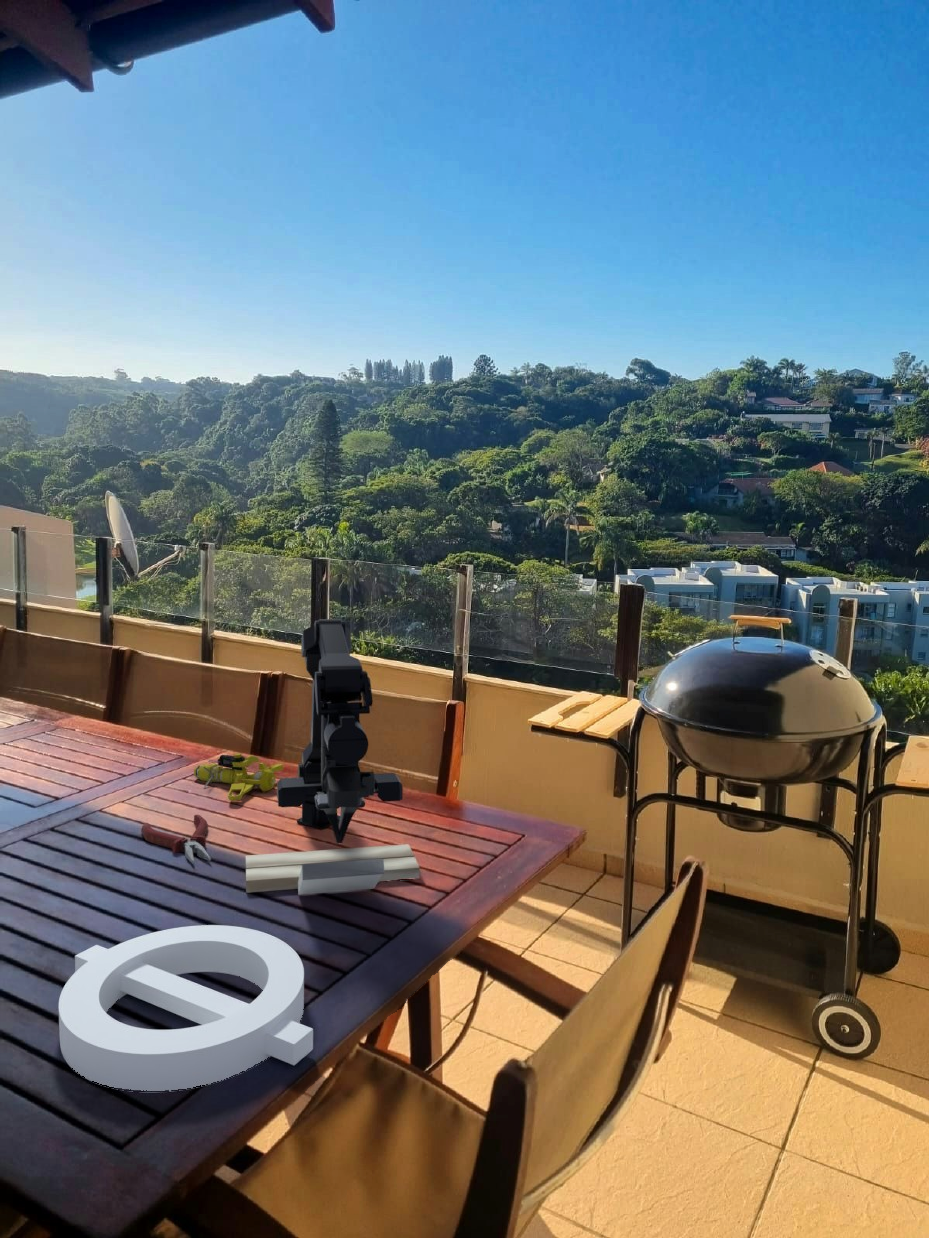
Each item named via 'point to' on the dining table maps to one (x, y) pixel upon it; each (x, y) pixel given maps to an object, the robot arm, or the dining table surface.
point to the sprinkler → (238, 774)
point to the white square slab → (340, 876)
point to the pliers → (181, 840)
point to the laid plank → (286, 867)
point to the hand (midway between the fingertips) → (339, 842)
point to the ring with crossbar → (183, 1008)
